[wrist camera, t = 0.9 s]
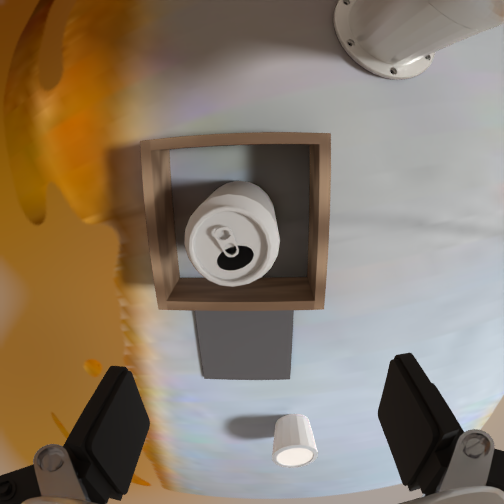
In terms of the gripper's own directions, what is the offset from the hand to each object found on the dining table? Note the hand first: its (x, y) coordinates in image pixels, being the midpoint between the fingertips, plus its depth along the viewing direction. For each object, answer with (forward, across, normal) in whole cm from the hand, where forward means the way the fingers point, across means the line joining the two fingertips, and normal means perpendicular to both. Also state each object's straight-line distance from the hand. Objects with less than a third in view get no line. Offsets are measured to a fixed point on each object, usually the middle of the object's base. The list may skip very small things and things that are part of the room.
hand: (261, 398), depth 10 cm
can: (+26, +2, -2) cm, 26 cm away
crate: (+26, +2, -2) cm, 26 cm away
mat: (+26, +3, +15) cm, 30 cm away
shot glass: (+26, -4, +33) cm, 42 cm away
